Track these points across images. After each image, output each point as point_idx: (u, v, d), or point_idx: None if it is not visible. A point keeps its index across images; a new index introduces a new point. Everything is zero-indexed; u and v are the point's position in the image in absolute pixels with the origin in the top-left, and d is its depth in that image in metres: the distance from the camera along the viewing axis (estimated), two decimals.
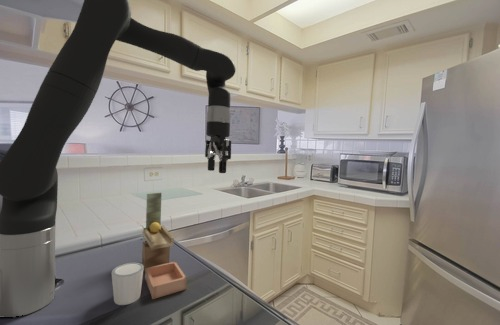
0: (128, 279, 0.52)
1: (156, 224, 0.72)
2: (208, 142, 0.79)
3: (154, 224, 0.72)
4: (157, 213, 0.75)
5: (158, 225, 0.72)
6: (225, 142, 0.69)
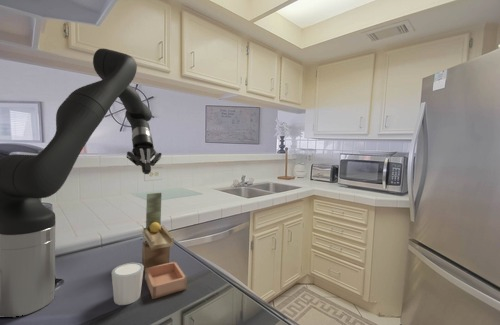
0: (128, 279, 0.52)
1: (156, 224, 0.72)
2: None
3: (154, 224, 0.72)
4: (157, 213, 0.75)
5: (158, 225, 0.72)
6: (160, 155, 0.92)
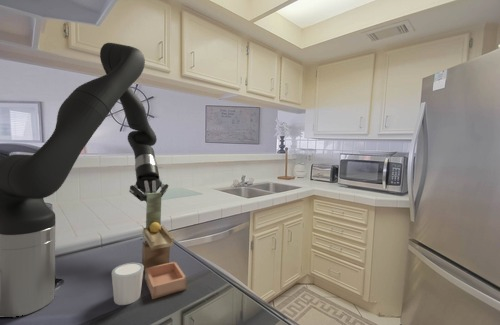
0: (128, 279, 0.52)
1: (156, 224, 0.72)
2: None
3: (154, 224, 0.72)
4: (157, 213, 0.75)
5: (158, 225, 0.72)
6: (167, 187, 0.83)
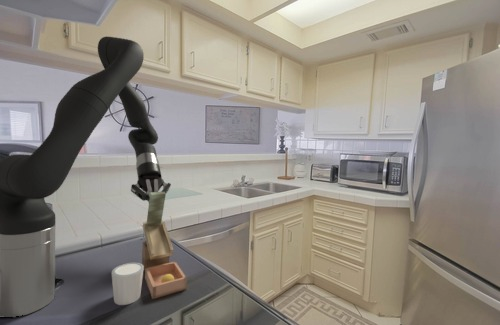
0: (128, 279, 0.52)
1: (168, 274, 0.59)
2: None
3: (166, 274, 0.59)
4: (159, 212, 0.72)
5: (171, 275, 0.59)
6: (169, 186, 0.80)
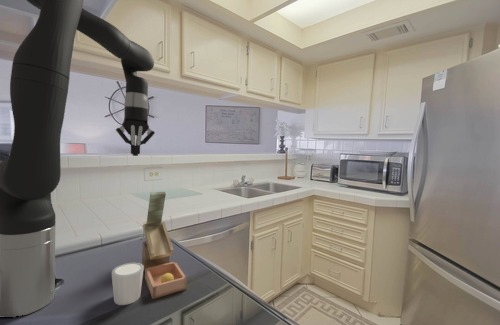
0: (128, 279, 0.52)
1: (167, 273, 0.60)
2: (120, 129, 0.80)
3: (165, 274, 0.60)
4: (159, 212, 0.72)
5: (170, 273, 0.60)
6: (153, 134, 0.86)
